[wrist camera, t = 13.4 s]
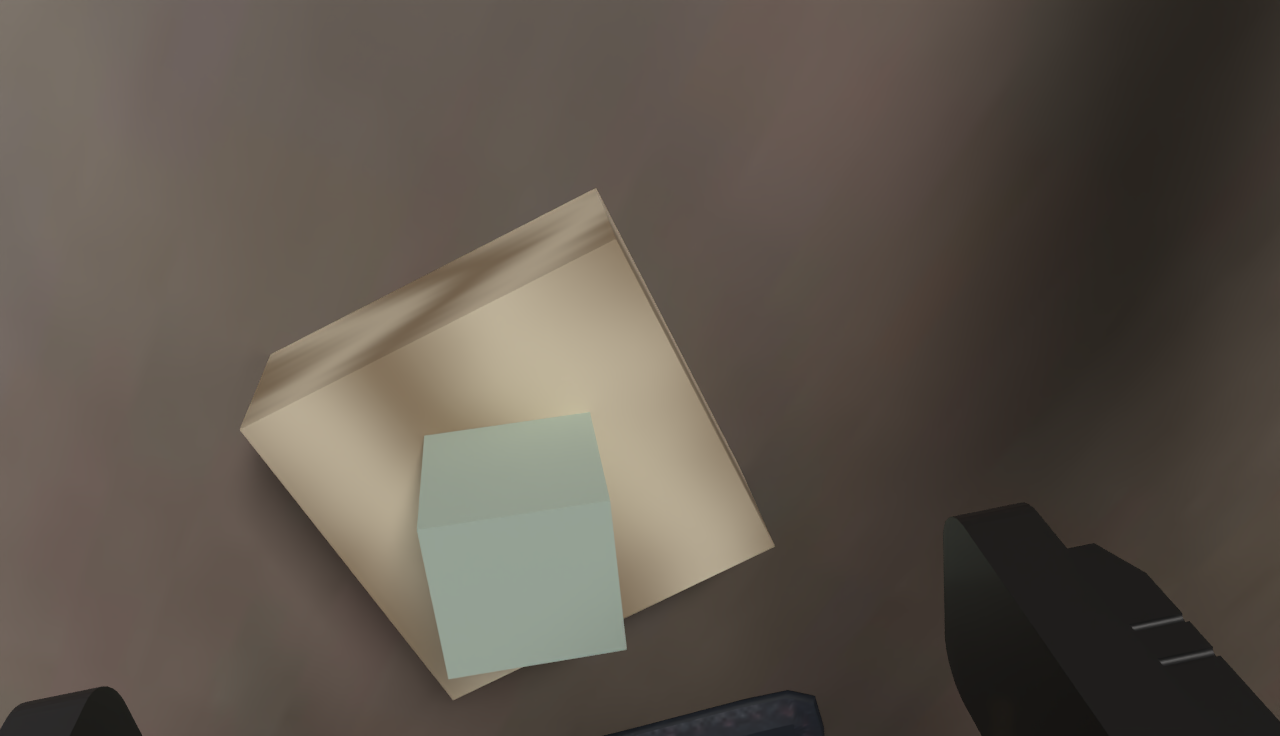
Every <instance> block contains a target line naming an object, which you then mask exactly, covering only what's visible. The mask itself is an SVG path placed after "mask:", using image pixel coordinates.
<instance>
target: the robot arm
mask: <svg viewBox="0 0 1280 736" xmlns="http://www.w3.org/2000/svg"><path fill="white" fill-rule="evenodd" d="M943 550H944V608H945V642H946V649H947V655H948V659H949V664H950V667H951V671H952V674H953V678H954V681H955V683H956V686H957V689H958V691H959V694H960V696H961V698H962V700H963V702H964V704H965V706H966V708H967V710H968V711H969V713H970V715H971V717H972V719H973V720H974V722H975V724H976V726H977V728H978V730H979V731H980V733H981V735H982V736H1280V721H1279V720H1278V719H1277V718H1276V717H1275V716H1274V715H1273V713H1272V712H1271V711H1270V710H1269V709H1268V708H1267V707H1266V706H1265V705H1264V703H1263V702H1262V701H1261V700H1260V699H1259V698H1258V697H1257V696H1256V695H1255V693H1254V692H1253V691H1252V690H1251V689H1250V688H1249V687H1248V686H1247V685H1246V684H1245V682H1244V681H1243V680H1242V679H1241V678H1240V677H1239V676H1238V675H1237V674H1236V672H1235V671H1234V670H1233V669H1232V668H1231V667H1230V666H1229V665H1228V664H1227V662H1226V661H1225V660H1224V659H1223V658H1222V657H1221V656H1217V657H1216V656H1215V654H1214V652H1213V647H1212V646H1211V645H1210V644H1209V642H1208V641H1207V640H1206V639H1205V638H1204V637H1203V636H1202V635H1201V634H1200V632H1199V631H1198V630H1197V629H1196V628H1195V627H1194V626H1193V625H1192V624H1191V623H1190V621H1188V622H1185V621H1184V619H1183V617H1182V613H1181V611H1180V610H1179V609H1178V608H1177V607H1176V606H1175V605H1174V604H1173V603H1172V601H1171V600H1170V599H1169V598H1168V597H1167V596H1166V595H1165V594H1164V593H1163V591H1162V590H1161V589H1160V588H1159V587H1158V586H1157V585H1156V584H1155V583H1154V581H1153V580H1152V579H1151V578H1150V577H1149V576H1148V575H1147V574H1146V573H1145V572H1143V571H1141V570H1140V569H1138V568H1136V567H1134V566H1133V565H1131V564H1129V563H1128V562H1126V561H1124V560H1122V559H1121V558H1119V557H1117V556H1115V555H1114V554H1112V553H1110V552H1108V551H1107V550H1105V549H1103V548H1101V547H1100V546H1098V545H1096V544H1094V543H1093V544H1088V545H1084V546H1079V547H1074V548H1069V549H1067V548H1066V547H1065V545H1064V544H1063V543H1062V542H1061V541H1060V539H1059V538H1058V537H1057V536H1056V534H1055V533H1054V532H1053V531H1052V530H1051V528H1050V527H1049V526H1048V525H1047V523H1046V522H1045V521H1044V520H1043V519H1042V517H1041V516H1040V515H1039V514H1038V513H1037V511H1036V510H1035V509H1034V508H1033V507H1031V506H1030V505H1029V504H1026V503H1017V504H1012V505H1007V506H1003V507H998V508H993V509H988V510H983V511H978V512H973V513H968V514H963V515H958V516H953V517H950V518H948V519H947V520H946V522H945V526H944V532H943ZM0 736H142V734H141V732H140V730H139V729H138V727H137V725H136V723H135V721H134V719H133V717H132V715H131V713H130V711H129V709H128V707H127V705H126V704H125V702H124V700H123V699H122V697H121V696H120V695H119V693H118V692H117V691H115V690H114V689H113V688H110V687H98V688H93V689H88V690H83V691H78V692H73V693H68V694H63V695H58V696H54V697H49V698H44V699H39V700H34V701H29V702H25V703H22V704H20V705H18V706H17V707H15V708H14V709H13V710H12V711H11V713H10V714H9V716H8V717H7V719H6V720H5V722H4V724H3V726H2V727H1V729H0Z"/></svg>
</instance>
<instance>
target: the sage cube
mask: <svg viewBox="0 0 1280 736" xmlns="http://www.w3.org/2000/svg"><path fill="white" fill-rule="evenodd" d="M417 533H418V538H419V543H420V547H421V552H422V557H423V562H424V566H425V571H426V576H427V580H428V585H429V590H430V595H431V599H432V604H433V609H434V613H435V618H436V623H437V628H438V632H439V637H440V642H441V646H442V651H443V656H444V661H445V665H446V670H447V675H448V679H453V678H459V677H465V676H471V675H477V674H483V673H489V672H495V671H501V670H508V669H514V668H520V667H526V666H532V665H538V664H544V663H550V662H556V661H562V660H568V659H574V658H580V657H586V656H592V655H598V654H604V653H610V652H616V651H622V650H627V648H626V639H625V630H624V621H623V612H622V603H621V594H620V585H619V576H618V567H617V558H616V549H615V540H614V531H613V522H612V513H611V504H610V498H609V494H608V489H607V485H606V480H605V476H604V472H603V467H602V463H601V458H600V454H599V450H598V445H597V441H596V436H595V432H594V428H593V423H592V419H591V414H590V412H587V413H580V414H573V415H566V416H559V417H552V418H545V419H538V420H531V421H524V422H517V423H510V424H503V425H496V426H488V427H481V428H474V429H467V430H460V431H453V432H446V433H439V434H432V435H425V436H424V445H423V458H422V470H421V483H420V496H419V508H418V521H417Z"/></svg>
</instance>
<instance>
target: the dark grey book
mask: <svg viewBox="0 0 1280 736" xmlns="http://www.w3.org/2000/svg"><path fill="white" fill-rule="evenodd" d="M604 736H824V727H823V723H822V720H821V716H820V713H819V709H818V706H817V702H816V699H815V696H812V695H808V694H803V693H798V692H794V691H789V690H787V691H782V692H777V693H772V694H768V695H763V696H758V697H753V698H749V699H744V700H740V701H736V702H732V703H728V704H725V705H721V706H717V707H713V708H709V709H706V710H702V711H698V712H694V713H690V714H686V715H683V716H679V717H675V718H671V719H667V720H664V721H660V722H656V723H652V724H648V725H644V726H641V727H637V728H633V729H629V730H625V731H621V732H617V733H613V734H608V735H604Z"/></svg>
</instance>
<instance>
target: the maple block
mask: <svg viewBox="0 0 1280 736" xmlns="http://www.w3.org/2000/svg"><path fill="white" fill-rule="evenodd" d="M587 412H590V414H591V419H592V423H593V428H594V432H595V436H596V441H597V445H598V450H599V454H600V458H601V463H602V467H603V472H604V476H605V480H606V485H607V489H608V494H609V498H610V504H611V513H612V522H613V531H614V540H615V549H616V558H617V567H618V576H619V585H620V594H621V603H622V612H623V619H624V618H626V617H628V616H630V615H633V614H635V613H637V612H639V611H641V610H643V609H645V608H647V607H649V606H651V605H653V604H656V603H658V602H660V601H662V600H664V599H666V598H668V597H670V596H672V595H674V594H676V593H678V592H681V591H683V590H685V589H687V588H689V587H691V586H693V585H695V584H697V583H699V582H701V581H704V580H706V579H708V578H710V577H712V576H714V575H716V574H718V573H720V572H722V571H724V570H727V569H729V568H731V567H733V566H735V565H737V564H739V563H741V562H743V561H745V560H747V559H750V558H752V557H754V556H756V555H758V554H760V553H762V552H764V551H766V550H768V549H770V548H773V547H775V545H774V543H773V541H772V539H771V537H770V534H769V532H768V530H767V528H766V525H765V523H764V521H763V519H762V516H761V514H760V512H759V510H758V507H757V505H756V503H755V501H754V498H753V496H752V494H751V492H750V490H749V487H748V485H747V483H746V481H745V478H744V476H743V474H742V472H741V469H740V467H739V465H738V463H737V461H736V459H735V457H734V455H733V453H732V452H731V450H730V448H729V446H728V444H727V442H726V440H725V438H724V436H723V434H722V432H721V430H720V428H719V426H718V424H717V422H716V420H715V418H714V416H713V415H712V413H711V411H710V409H709V407H708V405H707V403H706V401H705V399H704V397H703V395H702V393H701V391H700V389H699V387H698V385H697V383H696V381H695V380H694V378H693V376H692V374H691V372H690V370H689V368H688V366H687V364H686V362H685V360H684V358H683V356H682V354H681V352H680V350H679V348H678V346H677V345H676V343H675V341H674V339H673V337H672V335H671V333H670V331H669V329H668V327H667V325H666V323H665V321H664V319H663V317H662V315H661V313H660V311H659V309H658V308H657V306H656V304H655V302H654V300H653V298H652V296H651V294H650V292H649V290H648V288H647V286H646V284H645V282H644V280H643V278H642V276H641V274H640V273H639V271H638V269H637V267H636V265H635V263H634V261H633V259H632V257H631V255H630V253H629V251H628V249H627V247H626V245H625V243H624V241H623V239H622V237H621V236H620V234H619V232H618V230H617V228H616V226H615V224H614V222H613V220H612V218H611V216H610V214H609V212H608V210H607V208H606V206H605V204H604V202H603V201H602V199H601V197H600V195H599V193H598V191H597V189H596V188H595V189H593V190H591V191H589V192H587V193H585V194H583V195H581V196H579V197H577V198H576V199H574V200H572V201H570V202H568V203H566V204H564V205H562V206H560V207H558V208H556V209H554V210H552V211H550V212H548V213H546V214H544V215H542V216H540V217H538V218H536V219H534V220H533V221H531V222H529V223H527V224H525V225H523V226H521V227H519V228H517V229H515V230H513V231H511V232H509V233H507V234H505V235H503V236H501V237H499V238H497V239H495V240H493V241H492V242H490V243H488V244H486V245H484V246H482V247H480V248H478V249H476V250H474V251H472V252H470V253H468V254H466V255H464V256H462V257H460V258H458V259H456V260H454V261H452V262H450V263H449V264H447V265H445V266H443V267H441V268H439V269H437V270H435V271H433V272H431V273H429V274H427V275H425V276H423V277H421V278H419V279H417V280H415V281H413V282H411V283H409V284H407V285H406V286H404V287H402V288H400V289H398V290H396V291H394V292H392V293H390V294H388V295H386V296H384V297H382V298H380V299H378V300H376V301H374V302H372V303H370V304H368V305H366V306H365V307H363V308H361V309H359V310H357V311H355V312H353V313H351V314H349V315H347V316H345V317H343V318H341V319H339V320H337V321H335V322H333V323H331V324H329V325H327V326H325V327H323V328H322V329H320V330H318V331H316V332H314V333H312V334H310V335H308V336H306V337H304V338H302V339H300V340H298V341H296V342H294V343H292V344H290V345H288V346H286V347H284V348H282V349H280V350H279V351H277V352H275V353H273V354H271V355H270V357H269V360H268V362H267V365H266V367H265V370H264V372H263V374H262V377H261V379H260V382H259V384H258V386H257V389H256V391H255V394H254V396H253V399H252V401H251V403H250V406H249V408H248V411H247V413H246V416H245V418H244V420H243V423H242V425H241V428H240V431H241V432H242V433H243V434H244V436H245V437H246V438H247V440H248V441H249V442H250V443H251V445H252V446H253V447H254V448H255V450H256V451H257V452H258V453H259V455H260V456H261V457H262V459H263V460H264V461H265V462H266V464H267V465H268V466H269V467H270V469H271V470H272V471H273V473H274V474H275V475H276V476H277V478H278V479H279V480H280V481H281V483H282V484H283V485H284V486H285V488H286V489H287V490H288V492H289V493H290V494H291V495H292V497H293V498H294V499H295V500H296V502H297V503H298V504H299V505H300V507H301V508H302V509H303V511H304V512H305V513H306V514H307V516H308V517H309V518H310V519H311V521H312V522H313V523H314V525H315V526H316V527H317V528H318V530H319V531H320V532H321V533H322V535H323V536H324V537H325V538H326V540H327V541H328V542H329V544H330V545H331V546H332V547H333V549H334V550H335V551H336V552H337V554H338V555H339V556H340V557H341V559H342V560H343V561H344V563H345V564H346V565H347V566H348V568H349V569H350V570H351V571H352V573H353V574H354V575H355V577H356V578H357V579H358V580H359V582H360V583H361V584H362V585H363V587H364V588H365V589H366V590H367V592H368V593H369V594H370V596H371V597H372V598H373V599H374V601H375V602H376V603H377V604H378V606H379V607H380V608H381V609H382V611H383V612H384V613H385V615H386V616H387V617H388V618H389V620H390V621H391V622H392V623H393V625H394V626H395V627H396V629H397V630H398V631H399V632H400V634H401V635H402V636H403V637H404V639H405V640H406V641H407V642H408V644H409V645H410V646H411V648H412V649H413V650H414V651H415V653H416V654H417V655H418V656H419V658H420V659H421V660H422V661H423V663H424V664H425V665H426V667H427V668H428V669H429V670H430V672H431V673H432V674H433V675H434V677H435V678H436V679H437V681H438V682H439V683H440V684H441V686H442V687H443V688H444V689H445V691H446V692H447V693H448V694H449V696H450V697H451V698H452V700H455V699H457V698H459V697H461V696H463V695H465V694H467V693H470V692H472V691H474V690H476V689H478V688H480V687H482V686H484V685H486V684H488V683H490V682H493V681H495V680H497V679H499V678H501V677H503V676H505V675H507V674H509V673H511V672H513V671H516V670H518V669H520V668H522V667H520V668H514V669H508V670H501V671H495V672H489V673H483V674H477V675H471V676H465V677H459V678H453V679H448V675H447V670H446V665H445V661H444V656H443V651H442V646H441V642H440V637H439V632H438V628H437V623H436V618H435V613H434V609H433V604H432V599H431V595H430V590H429V585H428V580H427V576H426V571H425V566H424V562H423V557H422V552H421V547H420V543H419V538H418V533H417V521H418V508H419V496H420V483H421V470H422V458H423V445H424V436H425V435H432V434H439V433H446V432H453V431H460V430H467V429H474V428H481V427H488V426H496V425H503V424H510V423H517V422H524V421H531V420H538V419H545V418H552V417H559V416H566V415H573V414H580V413H587Z"/></svg>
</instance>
